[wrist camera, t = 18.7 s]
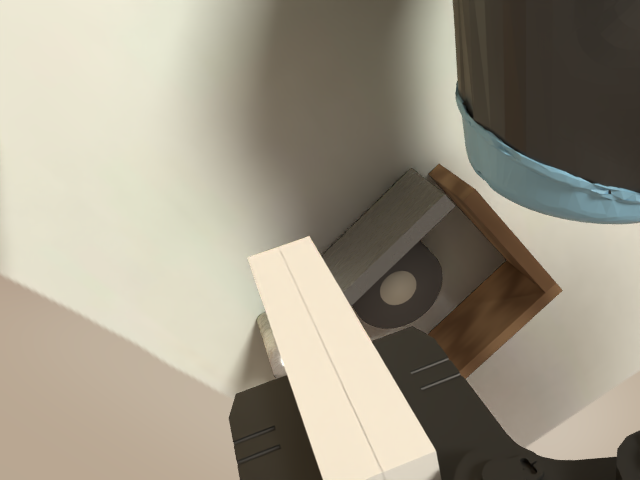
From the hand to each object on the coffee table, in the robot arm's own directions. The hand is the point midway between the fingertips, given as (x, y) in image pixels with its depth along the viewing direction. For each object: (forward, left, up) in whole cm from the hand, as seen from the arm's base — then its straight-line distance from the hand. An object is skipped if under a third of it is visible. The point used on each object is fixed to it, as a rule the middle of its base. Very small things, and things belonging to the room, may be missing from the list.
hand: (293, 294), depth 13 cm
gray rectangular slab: (+3, +18, -29) cm, 34 cm away
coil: (+1, +23, -29) cm, 37 cm away
